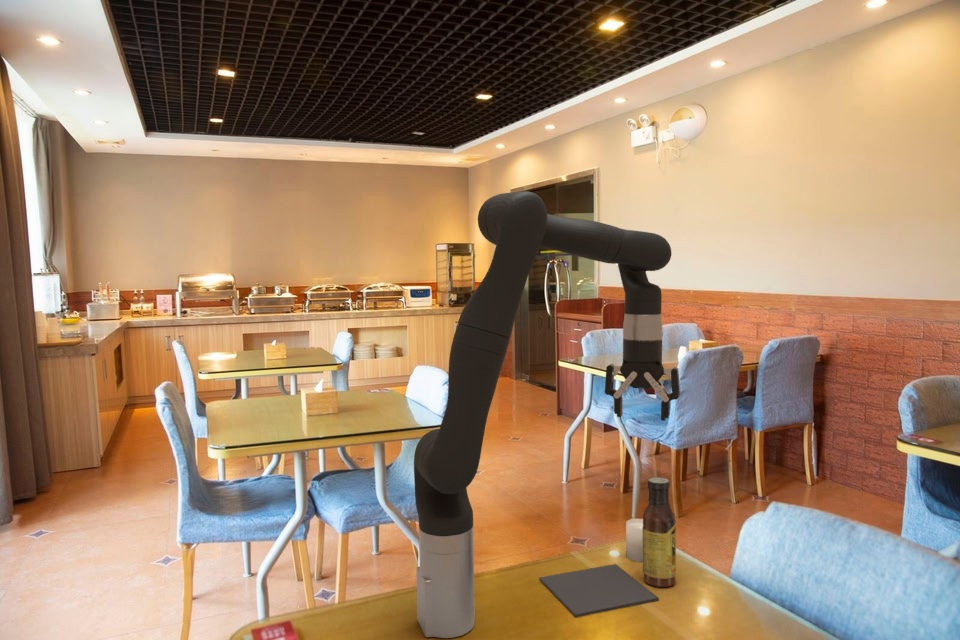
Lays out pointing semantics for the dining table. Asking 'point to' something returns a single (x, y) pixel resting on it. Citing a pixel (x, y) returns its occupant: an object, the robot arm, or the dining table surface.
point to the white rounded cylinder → (634, 540)
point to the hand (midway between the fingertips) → (641, 418)
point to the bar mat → (597, 590)
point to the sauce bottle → (659, 536)
